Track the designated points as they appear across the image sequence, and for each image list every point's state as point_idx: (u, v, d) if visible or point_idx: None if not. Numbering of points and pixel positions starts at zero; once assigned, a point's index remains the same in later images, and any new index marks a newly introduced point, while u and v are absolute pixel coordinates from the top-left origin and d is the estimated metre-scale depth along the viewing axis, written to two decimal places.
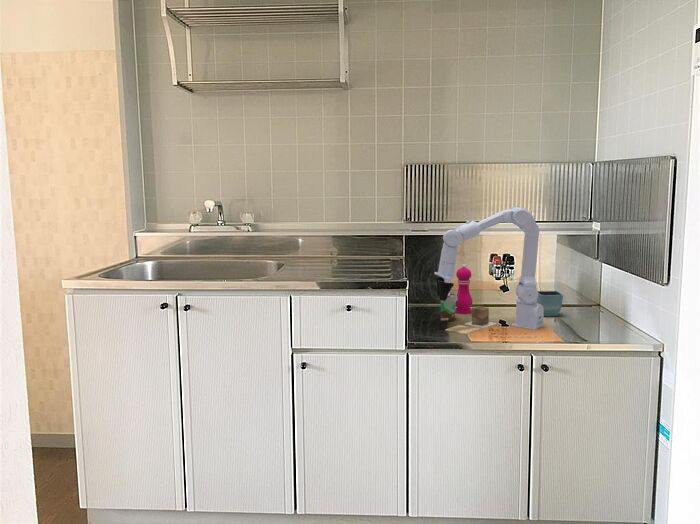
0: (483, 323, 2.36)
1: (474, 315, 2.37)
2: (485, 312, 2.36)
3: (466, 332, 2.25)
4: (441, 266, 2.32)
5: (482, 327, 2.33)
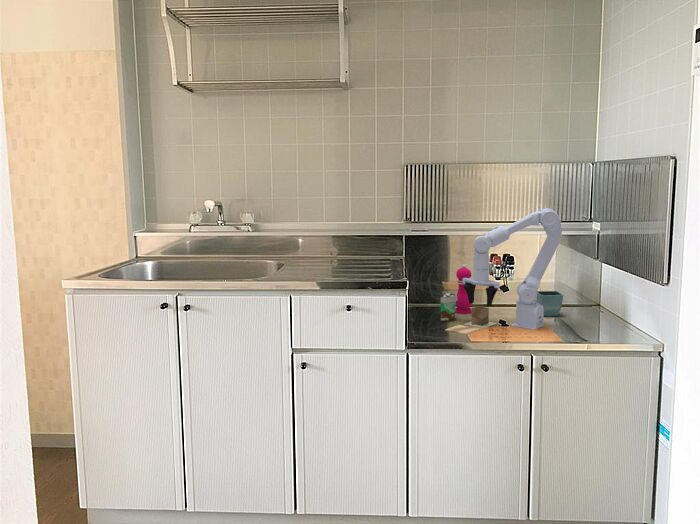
0: (483, 323, 2.36)
1: (474, 315, 2.37)
2: (485, 312, 2.36)
3: (466, 332, 2.25)
4: (481, 274, 2.33)
5: (482, 327, 2.33)
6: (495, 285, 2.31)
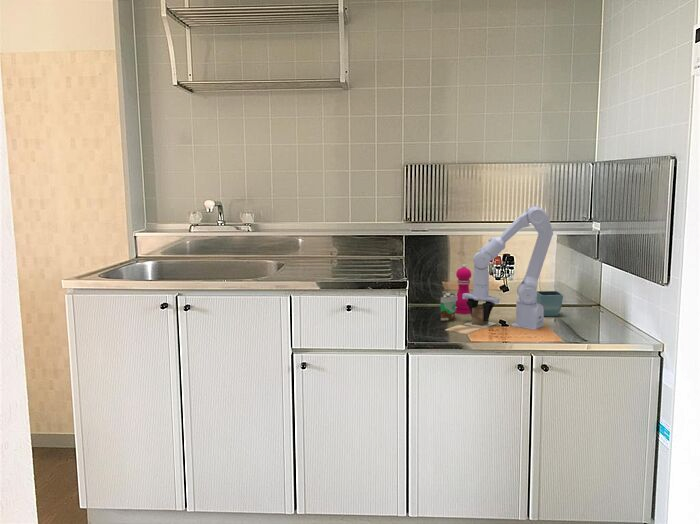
0: (483, 323, 2.36)
1: (474, 315, 2.37)
2: None
3: (466, 332, 2.25)
4: (481, 290, 2.34)
5: (482, 327, 2.33)
6: (495, 301, 2.32)
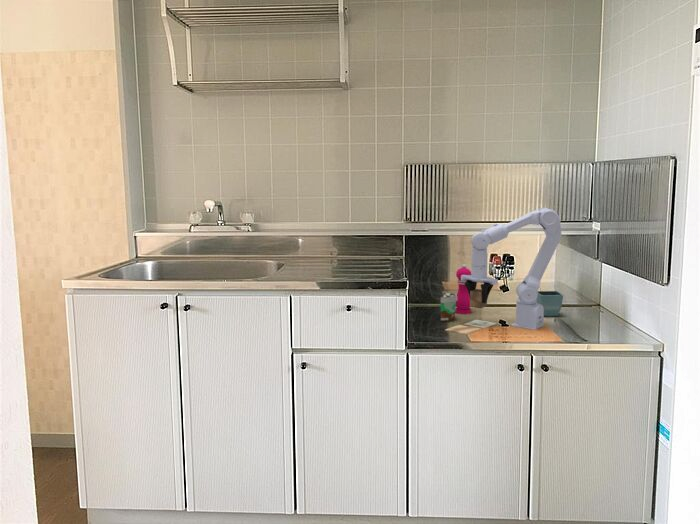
0: (481, 306, 2.34)
1: (472, 298, 2.35)
2: None
3: (466, 332, 2.25)
4: (480, 271, 2.32)
5: (482, 327, 2.33)
6: (493, 282, 2.30)
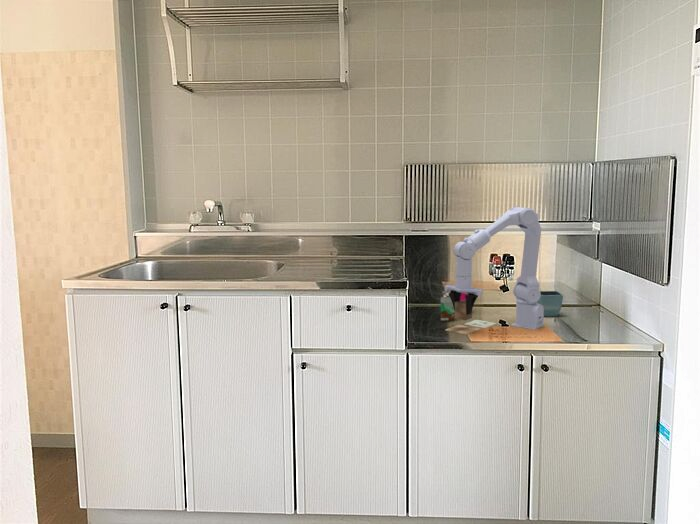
0: (466, 317, 2.27)
1: (457, 309, 2.28)
2: None
3: (466, 332, 2.25)
4: (464, 281, 2.24)
5: (482, 327, 2.33)
6: (478, 293, 2.22)
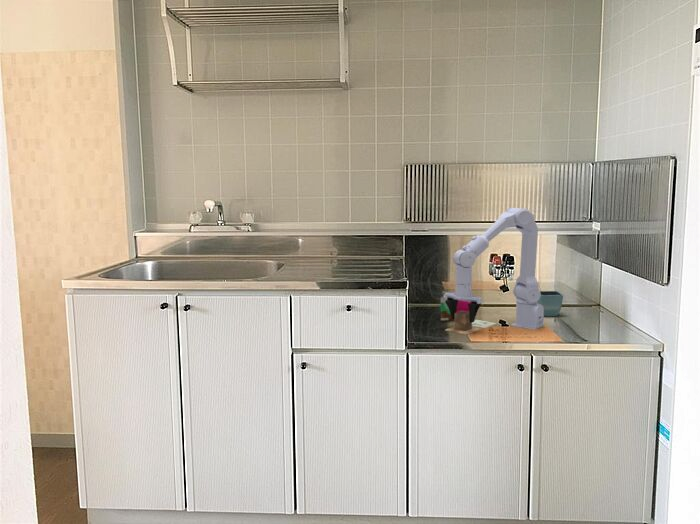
0: (466, 328, 2.27)
1: (456, 320, 2.29)
2: (468, 317, 2.28)
3: (466, 332, 2.25)
4: (464, 289, 2.25)
5: (482, 327, 2.33)
6: (478, 301, 2.23)
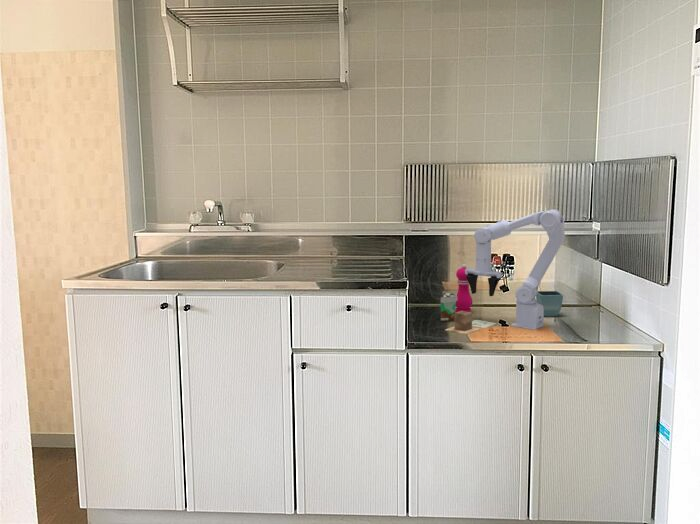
0: (466, 328, 2.27)
1: (456, 320, 2.29)
2: (468, 317, 2.28)
3: (466, 332, 2.25)
4: (484, 264, 2.37)
5: (482, 327, 2.33)
6: (497, 275, 2.35)
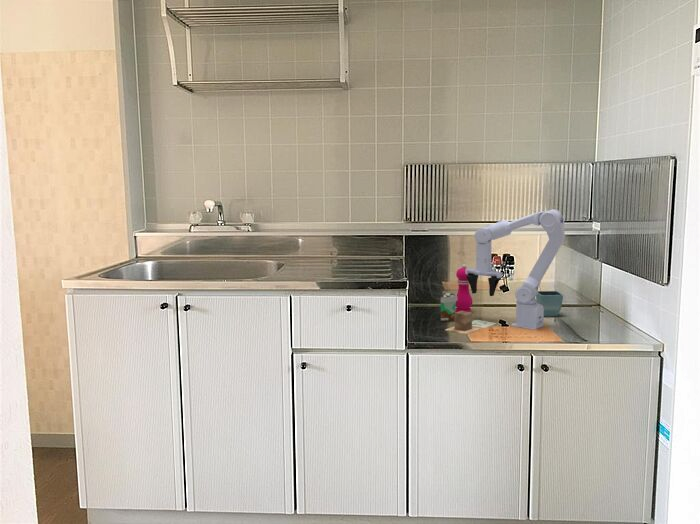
0: (466, 328, 2.27)
1: (456, 320, 2.29)
2: (468, 317, 2.28)
3: (466, 332, 2.25)
4: (484, 264, 2.37)
5: (482, 327, 2.33)
6: (497, 275, 2.36)
